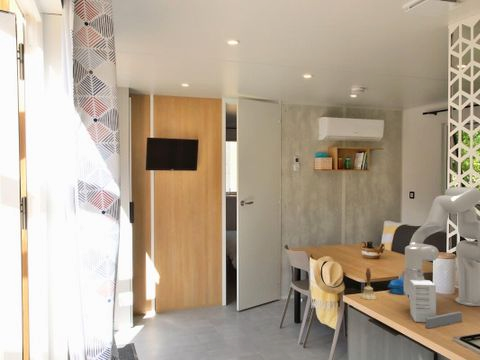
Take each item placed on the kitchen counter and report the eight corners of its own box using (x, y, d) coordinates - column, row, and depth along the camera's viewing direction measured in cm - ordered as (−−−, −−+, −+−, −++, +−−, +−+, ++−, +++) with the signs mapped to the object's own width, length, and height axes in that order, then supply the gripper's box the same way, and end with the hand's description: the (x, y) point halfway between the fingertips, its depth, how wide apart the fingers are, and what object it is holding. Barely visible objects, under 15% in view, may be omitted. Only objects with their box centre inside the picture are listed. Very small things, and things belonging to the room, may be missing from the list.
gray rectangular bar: (458, 320, 179) (458, 311, 179) (461, 321, 178) (461, 312, 178) (425, 327, 172) (425, 318, 172) (428, 328, 170) (428, 319, 170)
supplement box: (436, 323, 176) (436, 285, 176) (414, 322, 178) (414, 284, 178) (431, 315, 186) (430, 279, 186) (410, 314, 188) (409, 279, 187)
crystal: (386, 278, 228) (408, 275, 224) (389, 293, 227) (412, 290, 223) (385, 281, 221) (408, 278, 217) (389, 297, 221) (412, 294, 216)
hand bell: (380, 298, 214) (379, 268, 214) (368, 300, 210) (368, 270, 210) (368, 294, 221) (368, 265, 221) (357, 296, 217) (356, 267, 217)
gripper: (432, 274, 184) (433, 313, 184) (407, 267, 198) (408, 304, 198) (420, 276, 182) (420, 316, 182) (396, 269, 196) (396, 306, 196)
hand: (414, 310), depth 190 cm, fingers closed
